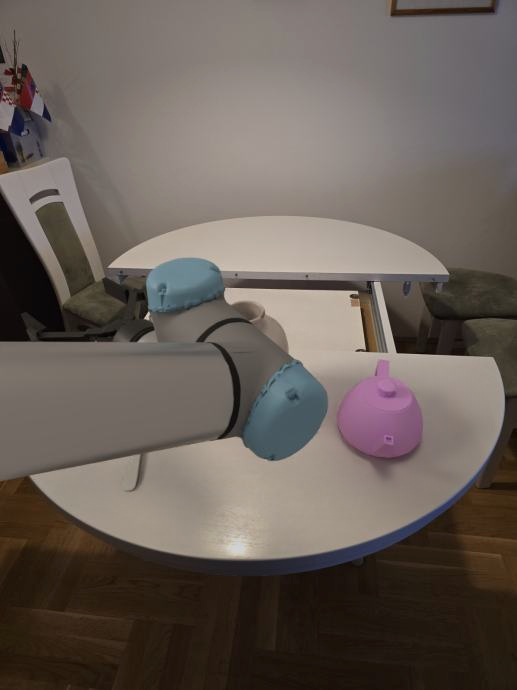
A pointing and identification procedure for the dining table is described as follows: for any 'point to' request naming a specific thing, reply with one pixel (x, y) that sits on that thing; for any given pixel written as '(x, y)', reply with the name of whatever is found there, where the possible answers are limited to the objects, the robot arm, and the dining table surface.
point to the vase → (263, 322)
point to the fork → (131, 474)
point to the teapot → (381, 415)
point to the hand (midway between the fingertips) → (68, 301)
